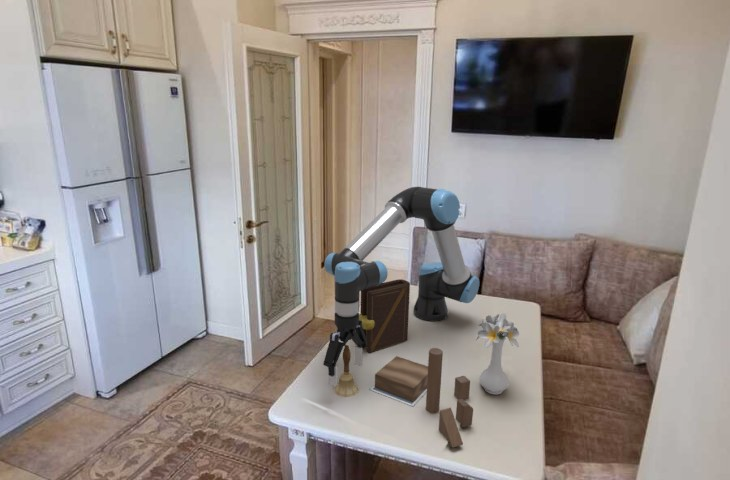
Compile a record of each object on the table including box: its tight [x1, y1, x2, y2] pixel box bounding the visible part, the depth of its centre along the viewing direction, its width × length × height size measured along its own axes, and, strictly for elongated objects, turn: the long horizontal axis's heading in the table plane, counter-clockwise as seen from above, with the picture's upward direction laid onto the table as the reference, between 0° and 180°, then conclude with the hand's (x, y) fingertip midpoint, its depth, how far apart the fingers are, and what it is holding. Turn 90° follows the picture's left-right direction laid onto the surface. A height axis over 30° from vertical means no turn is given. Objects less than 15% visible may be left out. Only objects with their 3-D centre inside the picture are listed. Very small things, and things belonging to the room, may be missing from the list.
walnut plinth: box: [374, 355, 428, 402], centre depth 146 cm, size 14×14×5 cm
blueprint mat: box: [368, 384, 427, 408], centre depth 147 cm, size 18×16×1 cm
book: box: [359, 279, 411, 355], centre depth 170 cm, size 22×8×25 cm, turn 123°
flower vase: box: [475, 312, 520, 396], centre depth 144 cm, size 13×18×25 cm
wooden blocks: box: [425, 347, 474, 449], centre depth 129 cm, size 17×20×20 cm
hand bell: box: [333, 344, 360, 398], centre depth 142 cm, size 8×8×16 cm
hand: (346, 374), depth 142 cm, fingers open, 13 cm apart
